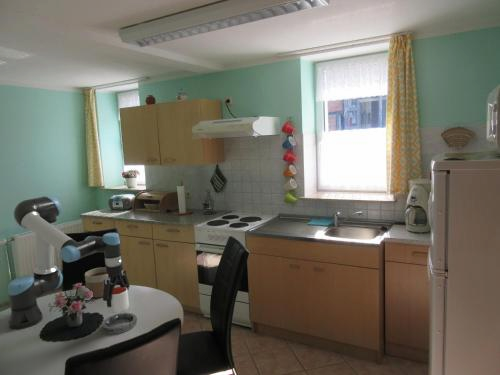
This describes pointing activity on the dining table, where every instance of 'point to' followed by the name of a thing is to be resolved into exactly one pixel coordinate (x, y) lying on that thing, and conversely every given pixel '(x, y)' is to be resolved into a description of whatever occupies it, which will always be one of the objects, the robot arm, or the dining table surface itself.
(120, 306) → the cup
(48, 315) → the dining table surface
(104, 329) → the ring coaster
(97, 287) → the planter
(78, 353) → the dining table surface
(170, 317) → the dining table surface
